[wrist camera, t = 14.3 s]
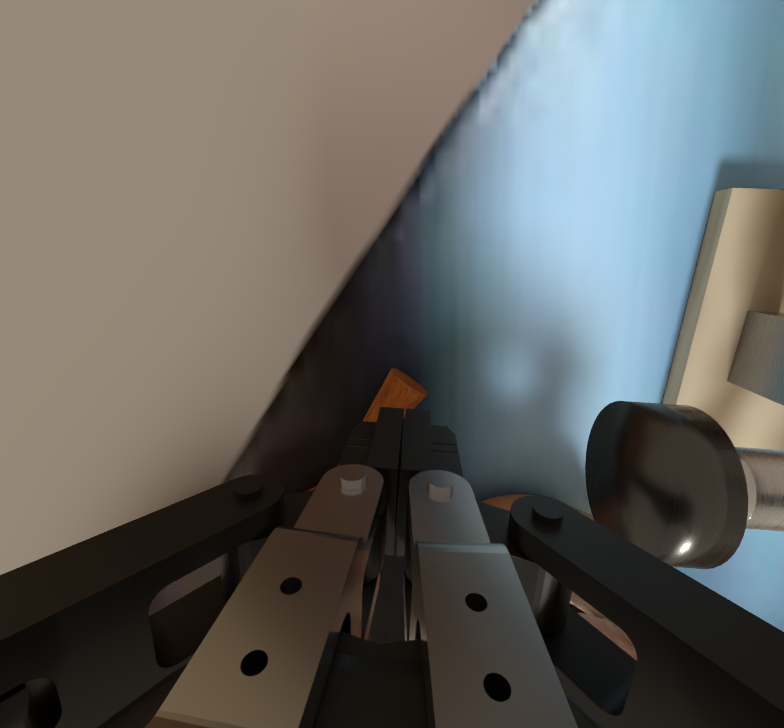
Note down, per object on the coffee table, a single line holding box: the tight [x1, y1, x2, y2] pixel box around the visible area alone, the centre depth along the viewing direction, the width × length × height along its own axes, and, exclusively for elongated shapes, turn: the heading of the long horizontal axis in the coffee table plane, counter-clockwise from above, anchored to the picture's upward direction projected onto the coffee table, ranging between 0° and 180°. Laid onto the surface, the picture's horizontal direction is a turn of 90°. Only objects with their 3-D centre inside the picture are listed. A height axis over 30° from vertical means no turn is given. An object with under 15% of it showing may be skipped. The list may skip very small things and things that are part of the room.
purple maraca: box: [308, 368, 428, 491], centre depth 31 cm, size 6×6×20 cm
